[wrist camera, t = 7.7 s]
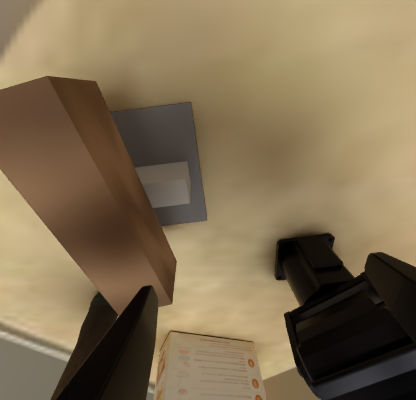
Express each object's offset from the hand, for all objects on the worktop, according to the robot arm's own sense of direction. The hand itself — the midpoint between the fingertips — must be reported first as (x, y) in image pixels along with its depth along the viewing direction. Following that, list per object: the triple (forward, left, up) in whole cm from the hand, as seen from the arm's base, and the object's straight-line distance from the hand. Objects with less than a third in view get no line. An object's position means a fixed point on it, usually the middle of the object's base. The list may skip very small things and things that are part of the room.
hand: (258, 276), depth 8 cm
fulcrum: (+1, +8, -12) cm, 14 cm away
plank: (+1, +8, -7) cm, 11 cm away
